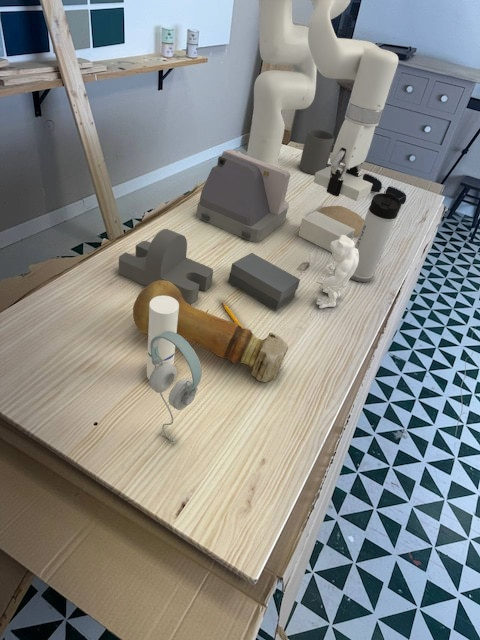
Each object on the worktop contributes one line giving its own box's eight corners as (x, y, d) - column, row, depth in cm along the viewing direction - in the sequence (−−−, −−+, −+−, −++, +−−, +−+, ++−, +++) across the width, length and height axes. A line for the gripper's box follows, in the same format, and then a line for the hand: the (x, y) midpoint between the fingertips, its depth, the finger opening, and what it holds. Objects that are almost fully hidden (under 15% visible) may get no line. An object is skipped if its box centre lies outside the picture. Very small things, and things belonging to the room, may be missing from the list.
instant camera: (294, 223, 127) (308, 171, 118) (247, 247, 114) (257, 190, 104) (236, 193, 136) (244, 142, 126) (185, 212, 123) (190, 156, 113)
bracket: (143, 253, 105) (144, 210, 98) (213, 283, 100) (219, 240, 93) (116, 272, 98) (115, 227, 91) (190, 305, 93) (195, 260, 86)
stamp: (276, 397, 78) (276, 327, 69) (132, 363, 86) (115, 296, 77) (293, 358, 85) (295, 290, 76) (159, 330, 94) (147, 265, 85)
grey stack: (227, 282, 101) (231, 263, 98) (247, 270, 106) (251, 252, 103) (276, 311, 96) (281, 292, 93) (294, 298, 101) (300, 279, 98)
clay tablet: (367, 226, 133) (370, 217, 131) (353, 238, 126) (356, 229, 124) (323, 207, 138) (326, 198, 137) (307, 217, 131) (309, 208, 130)
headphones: (138, 428, 69) (141, 328, 57) (159, 414, 72) (166, 315, 59) (177, 464, 66) (189, 366, 53) (197, 447, 68) (213, 350, 56)
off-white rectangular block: (297, 235, 123) (302, 218, 119) (311, 227, 127) (316, 210, 124) (337, 255, 118) (343, 238, 114) (350, 246, 122) (355, 229, 119)
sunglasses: (403, 208, 147) (408, 193, 143) (374, 223, 140) (379, 208, 136) (361, 185, 156) (365, 171, 152) (332, 198, 149) (335, 184, 145)
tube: (147, 364, 79) (150, 294, 70) (172, 365, 80) (179, 296, 70) (145, 383, 76) (148, 312, 67) (172, 384, 77) (178, 314, 67)
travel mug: (374, 273, 114) (405, 197, 101) (368, 286, 109) (400, 208, 96) (349, 264, 115) (377, 188, 103) (343, 276, 110) (371, 198, 98)
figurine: (336, 318, 98) (359, 258, 88) (307, 307, 99) (326, 246, 89) (347, 292, 106) (370, 234, 96) (320, 282, 107) (339, 224, 97)
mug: (295, 169, 157) (303, 133, 150) (303, 161, 164) (312, 127, 157) (333, 182, 154) (343, 146, 147) (340, 173, 161) (350, 138, 153)
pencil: (266, 368, 83) (267, 365, 83) (220, 303, 95) (220, 300, 95) (270, 367, 84) (270, 364, 83) (223, 302, 96) (224, 300, 95)
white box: (313, 182, 113) (315, 172, 111) (327, 175, 117) (330, 165, 116) (356, 201, 108) (359, 191, 106) (369, 193, 112) (373, 183, 111)
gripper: (365, 104, 109) (343, 176, 120) (329, 113, 98) (308, 193, 109) (394, 114, 106) (369, 187, 117) (360, 125, 94) (336, 205, 106)
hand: (340, 189), depth 113 cm, fingers closed on white box, 7 cm apart
